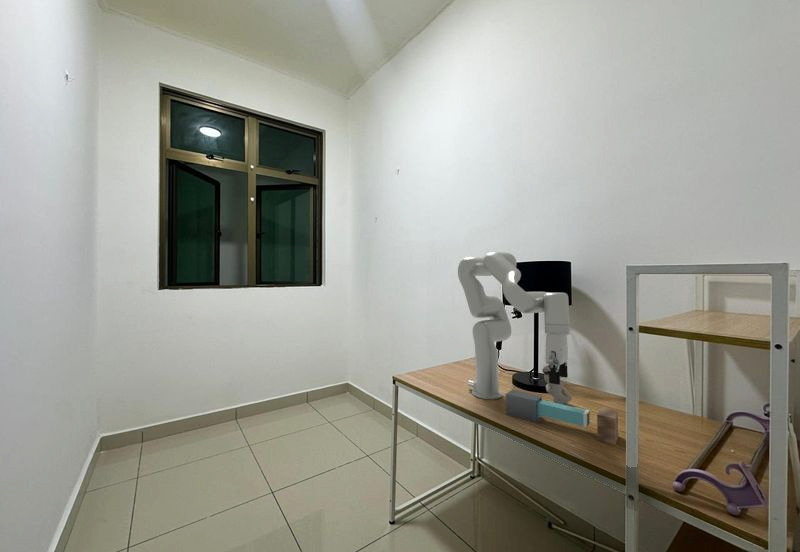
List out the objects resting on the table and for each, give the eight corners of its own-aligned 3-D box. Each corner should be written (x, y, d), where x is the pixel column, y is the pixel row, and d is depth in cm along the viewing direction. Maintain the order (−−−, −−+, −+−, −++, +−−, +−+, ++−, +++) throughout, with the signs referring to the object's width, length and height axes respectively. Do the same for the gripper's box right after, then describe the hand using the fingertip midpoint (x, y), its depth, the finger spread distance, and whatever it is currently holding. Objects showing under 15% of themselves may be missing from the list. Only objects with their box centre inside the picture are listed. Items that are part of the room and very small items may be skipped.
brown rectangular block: (597, 440, 97) (597, 414, 97) (601, 431, 103) (600, 407, 103) (615, 445, 94) (614, 418, 95) (618, 436, 100) (617, 411, 100)
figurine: (544, 398, 132) (544, 361, 132) (572, 403, 127) (571, 365, 127) (541, 405, 124) (541, 366, 125) (571, 410, 119) (570, 370, 119)
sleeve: (506, 414, 116) (505, 393, 116) (512, 409, 121) (512, 389, 121) (536, 423, 109) (536, 400, 109) (542, 417, 114) (541, 395, 114)
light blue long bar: (511, 408, 116) (511, 396, 116) (515, 404, 119) (515, 393, 119) (587, 427, 100) (586, 414, 100) (589, 423, 104) (589, 410, 104)
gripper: (552, 325, 117) (553, 372, 117) (537, 331, 104) (538, 384, 103) (575, 327, 112) (576, 376, 112) (562, 333, 99) (564, 389, 98)
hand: (558, 380), depth 107 cm, fingers open, 9 cm apart
